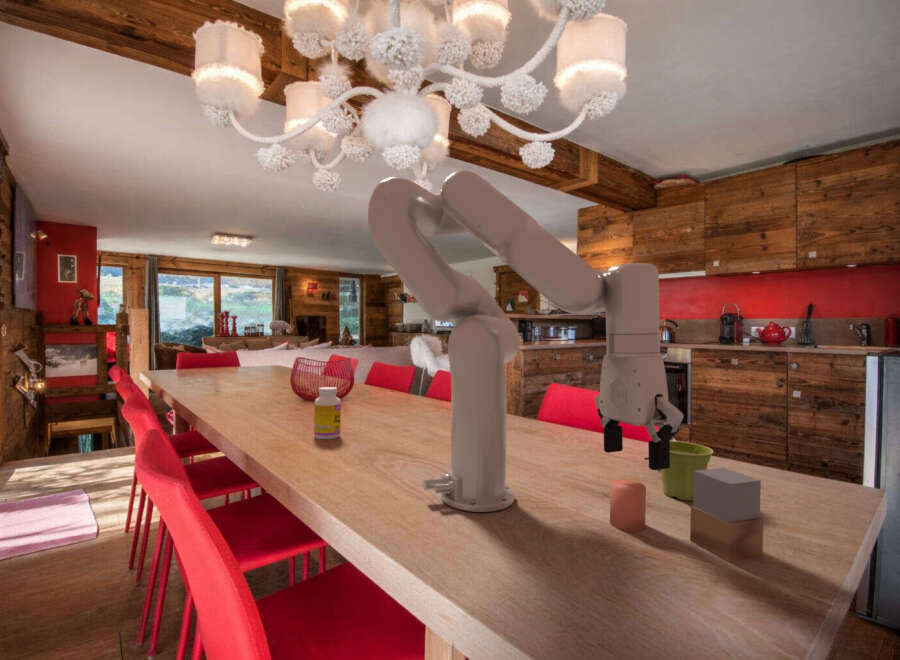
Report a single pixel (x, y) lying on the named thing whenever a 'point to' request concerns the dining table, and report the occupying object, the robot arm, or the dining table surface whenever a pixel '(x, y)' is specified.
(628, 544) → the dining table surface
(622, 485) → the cylinder
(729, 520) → the tower top
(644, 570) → the dining table surface
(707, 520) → the tower base
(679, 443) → the plant pot
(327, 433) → the supplement bottle
